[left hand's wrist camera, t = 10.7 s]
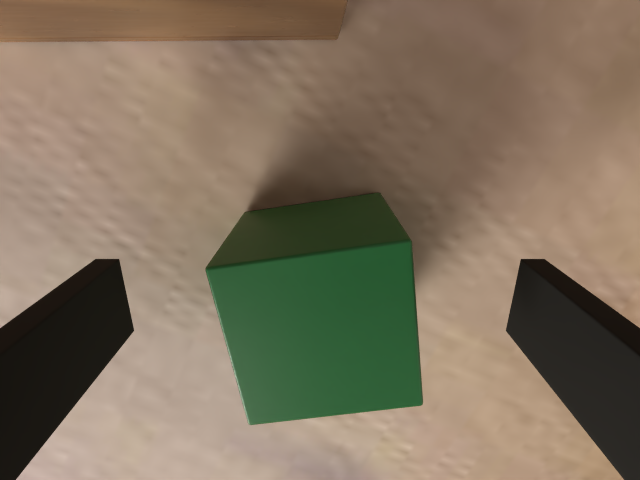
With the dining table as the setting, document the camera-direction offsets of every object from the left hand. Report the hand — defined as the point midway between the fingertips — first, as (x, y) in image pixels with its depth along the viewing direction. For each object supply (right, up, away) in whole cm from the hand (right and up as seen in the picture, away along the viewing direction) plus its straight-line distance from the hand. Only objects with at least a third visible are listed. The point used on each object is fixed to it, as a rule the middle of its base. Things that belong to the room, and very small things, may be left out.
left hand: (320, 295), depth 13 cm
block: (0, +1, +3) cm, 3 cm away
